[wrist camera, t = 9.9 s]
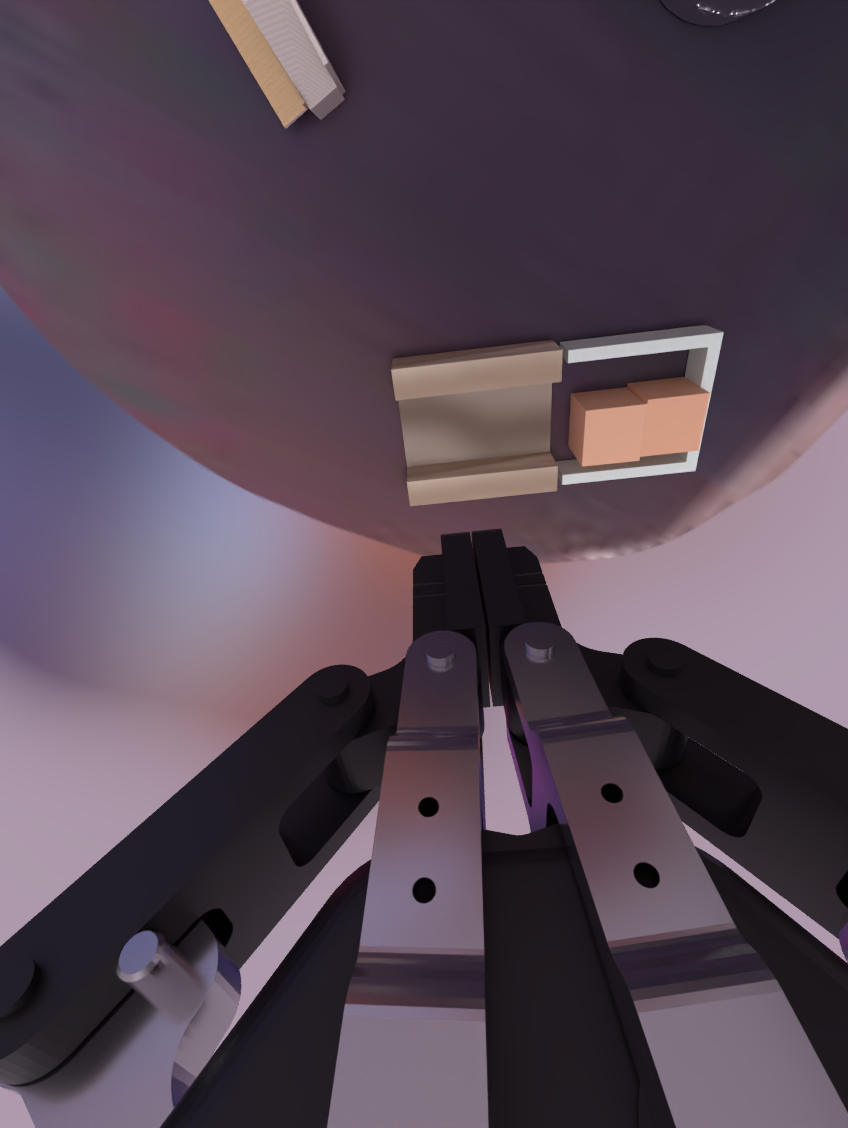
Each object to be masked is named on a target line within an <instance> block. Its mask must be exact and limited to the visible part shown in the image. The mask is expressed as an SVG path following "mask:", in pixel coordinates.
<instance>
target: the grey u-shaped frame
mask: <svg viewBox="0 0 848 1128" xmlns="http://www.w3.org/2000/svg"><path fill="white" fill-rule="evenodd" d="M723 333H724V332H722V331H719V330H717V329H714V328H712V327H709V326H707V325H700V326H692V327H683V328H675V329H666V330H658V331H649V332H641V333H632V334H624V335H615V336H607V337H598V338H590V339H581V340H573V341H564V342H560V345H559V347H560V348H561V349H562V350H563V356H562V358H563V359H564V360H565V361H566V362H567V363H574V362H583V361H591V360H600V359H609V358H617V357H626V356H635V355H643V354H652V353H661V352H669V351H678V350H687V349H689V355H688V361H687V366H686V372H685V378H687V379H689V380H690V381H692V382H693V383H695V384H697V385H698V386H700V387H701V388H703V389H705V390H706V391H708V392H710V395H709V400H708V405H707V410H706V415H705V420H704V425H703V430H702V435H701V440H700V445H701V441H702V436H703V431H704V426H705V421H706V416H707V411H708V406H709V402H710V397H711V392H712V387H713V382H714V377H715V372H716V367H717V363H718V358H719V353H720V348H721V343H722V338H723ZM700 445H699V450H700ZM699 450H698V451H690V452H681V453H671V454H662V455H653V456H643V457H640V461H631V462H622V463H612V464H603V465H593V466H584V467H582V466H581V464H580V463H579V461H578V460H577V459H573V460H564V461H555V462H556V464H557V465H558V478H559V480H560V482H561V484H562V485H565V484H575V483H584V482H594V481H604V480H613V479H623V478H632V477H642V476H652V475H661V474H671V473H680V472H690V471H695V470H696V465H697V460H698V455H699Z"/></svg>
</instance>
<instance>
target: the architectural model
mask: <svg viewBox="0 0 848 1128" xmlns="http://www.w3.org/2000/svg"><path fill="white" fill-rule="evenodd" d="M209 2H210V3H211V5H212V7H213V8H214V10H215V12H216V13H217V15H218V17H219V18H220V20H221V22H222V23H223V25H224V27H225V28H226V30H227V32H228V33H229V35H230V37H231V38H232V40H233V42H234V44H235V45H236V47H237V49H238V50H239V52H240V54H241V55H242V57H243V59H244V60H245V62H246V64H247V65H248V67H249V69H250V70H251V72H252V74H253V75H254V77H255V79H256V80H257V82H258V84H259V85H260V87H261V89H262V90H263V92H264V94H265V95H266V97H267V99H268V100H269V102H270V104H271V105H272V107H273V109H274V110H275V112H276V114H277V115H278V117H279V119H280V120H281V122H282V124H283V126H284V127H285V128H287V127H289V126H290V125H291V124H292V123H293V122H294V121H295V120H296V119H298V118H299V117H300V116H301V115H302V114H303V113H304V112H305V111H307V110H308V109H310V110H311V111H312V112H313V113H314V114H315V115H316V116H317V117H318V118H319V119H320V120H322V119H323V118H324V117H325V116H326V115H327V114H329V113H330V112H331V111H332V110H333V109H334V108H335V107H337V106H338V105H339V104H340V103H341V102H342V101H343V100H345V99H344V97H343V94H344V93H345V90H344V88H343V86H342V84H341V82H340V80H339V78H338V76H337V75H336V73H335V71H334V69H333V67H332V65H331V63H330V61H329V60H328V58H327V56H326V54H325V52H324V50H323V48H322V46H321V44H320V43H319V41H318V39H317V37H316V35H315V33H314V31H313V29H312V27H311V26H310V24H309V22H308V20H307V18H306V16H305V14H304V12H303V10H302V9H301V7H300V5H299V3H298V1H297V0H209Z"/></svg>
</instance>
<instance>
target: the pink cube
mask: <svg viewBox="0 0 848 1128" xmlns="http://www.w3.org/2000/svg"><path fill="white" fill-rule="evenodd" d="M646 409H647V403H645V402H644V401H643V400H642V399H641V398H639V397H638V396H637V395H636V394H635V393H633V392H632V391H631V390H630V389H629V388H627V387H624V388H615V389H606V390H597V391H588V392H579V393H571V404H570V423H569V442H568V446H569V447H570V449H571V451H572V452H573V454H574V455H575V457H576V458H577V460H578V461H579V463H580V464H581V466H582V467H584V466H593V465H603V464H612V463H622V462H631V461H640V453H641V446H642V438H643V431H644V424H645V416H646Z"/></svg>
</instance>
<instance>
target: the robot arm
mask: <svg viewBox="0 0 848 1128" xmlns="http://www.w3.org/2000/svg"><path fill="white" fill-rule="evenodd" d="M661 1H662V2H663V4H664V5H665V6H666V8H667V9H668V10H670V11H671V12H672V13H674V14H675V15H677V16H678V17H679V18H681V19H682V20H684V21H687V22H690V23H693V24H696V25H699V26H719V25H722V24H726V23H729V22H733V21H736V20H739V19H741V18H743V17H745V16H746V15H748V14H750V13H753V12H755V11H757V10H759V9H761V8H763V7H765V6H767V5H769V4H771V3H772V2H774V1H776V0H661ZM441 545H442V555H432V556H422V557H421V558H420V560H419V561H418V563H417V564H416V566H415V567H414V569H413V643H412V644H411V645H410V647H409V649H408V650H407V654H406V657H405V658H404V659H403V660H402V661H401V662H399V663H398V664H397V665H395V666H393V667H391V668H390V669H387V670H385V671H382V672H379V673H376V674H374V675H371V676H367V675H366V674H365V673H364V672H363V671H362V670H361V669H359V668H357V667H354V666H350V665H334V666H330V667H326V668H323V669H321V670H319V671H317V672H316V673H314V674H313V675H311V676H310V677H309V678H308V679H306V680H305V681H304V682H303V683H302V684H301V685H300V686H298V687H297V688H296V689H295V690H294V691H293V692H292V693H290V694H289V695H288V696H287V697H286V698H285V699H284V700H282V701H281V702H280V703H279V704H278V705H277V706H276V707H275V708H273V709H272V710H271V711H270V712H269V713H267V714H266V715H265V716H264V717H263V718H262V719H261V720H259V721H258V722H257V723H256V724H255V725H254V726H253V727H251V728H250V729H249V730H248V731H247V732H246V733H245V734H243V735H242V736H241V737H240V738H239V739H238V740H236V741H235V742H234V743H233V744H232V745H231V746H230V747H228V748H227V749H226V750H225V751H224V752H223V753H222V754H221V755H219V756H218V757H217V758H216V759H215V760H214V761H212V762H211V763H210V764H209V765H208V766H207V767H206V768H204V769H203V770H202V771H201V772H200V773H199V774H198V775H197V776H195V777H194V778H193V779H192V780H191V781H189V782H188V783H187V784H186V785H185V786H184V787H183V788H181V789H180V790H179V791H178V792H177V793H176V794H175V795H173V796H172V797H171V798H170V799H169V800H168V801H167V802H165V803H164V804H163V805H162V806H161V807H160V808H159V809H157V810H156V811H155V812H154V813H153V814H152V815H151V816H149V817H148V818H147V819H146V820H145V821H144V822H143V823H142V824H140V825H139V826H138V827H137V828H136V829H134V830H133V831H132V832H131V833H130V834H129V835H128V836H127V837H125V838H124V839H123V840H122V841H121V842H120V843H118V844H117V845H116V846H115V847H114V848H113V849H112V850H110V851H109V852H108V853H107V854H106V855H105V856H104V857H102V858H101V859H100V860H99V861H98V862H97V863H96V864H94V865H93V866H92V867H91V868H90V869H89V870H88V871H86V872H85V873H84V874H83V875H82V876H81V877H80V878H79V879H77V880H76V881H75V882H74V883H73V884H72V885H70V886H69V887H68V888H67V889H66V890H65V891H63V892H62V893H61V894H60V895H59V896H58V897H57V898H55V899H54V901H52V902H51V903H50V904H49V905H47V906H46V907H45V908H44V909H43V910H42V911H41V912H39V913H38V914H37V915H36V916H35V917H34V918H33V919H31V921H29V922H28V923H27V924H26V925H25V926H23V927H22V928H21V929H20V930H19V931H18V932H17V933H15V934H14V935H13V936H12V937H11V938H10V939H8V940H7V941H6V942H5V943H4V944H3V945H2V946H1V947H0V1086H1V1087H3V1088H4V1089H7V1090H9V1091H12V1092H14V1093H16V1094H19V1095H21V1096H22V1098H23V1100H24V1103H25V1105H26V1107H27V1109H28V1112H29V1114H30V1116H31V1118H32V1121H33V1123H34V1125H35V1128H848V729H847V728H845V727H843V726H841V725H839V724H837V723H835V722H833V721H831V720H829V719H827V718H825V717H823V716H821V715H819V714H817V713H815V712H814V711H812V710H810V709H808V708H806V707H804V706H802V705H800V704H798V703H796V702H794V701H792V700H790V699H788V698H786V697H784V696H782V695H780V694H778V693H776V692H775V691H772V690H770V689H768V688H767V687H764V686H762V685H761V684H759V683H757V682H755V681H753V680H751V679H749V678H747V677H745V676H743V675H741V674H739V673H737V672H735V671H733V670H732V669H730V668H728V667H726V666H724V665H722V664H720V663H718V662H716V661H714V660H712V659H710V658H708V657H706V656H704V655H702V654H700V653H698V652H696V651H694V650H692V649H690V648H688V647H687V646H685V645H682V644H680V643H678V642H675V641H672V640H668V639H663V638H645V639H641V640H638V641H635V642H634V643H632V644H630V645H629V646H628V647H627V648H626V649H625V651H624V653H623V655H622V654H615V653H609V652H602V651H597V650H593V649H589V648H586V647H584V646H582V645H580V644H578V643H576V641H575V640H574V638H573V636H572V635H571V634H570V633H569V632H568V631H566V630H565V629H563V628H562V627H561V624H560V621H559V619H558V615H557V613H556V610H555V607H554V604H553V601H552V598H551V595H550V592H549V590H548V587H547V585H546V581H545V578H544V575H543V574H542V570H541V567H540V564H539V561H538V558H537V557H536V556H535V555H534V554H533V553H532V552H531V551H529V550H528V549H527V548H526V547H525V546H521V547H511V548H506V544H505V541H504V537H503V533H502V530H501V529H491V530H481V531H472V543H471V537H470V532H462V533H452V534H443V535H441ZM488 677H489V678H488ZM489 683H490V690H491V696H492V702H493V706H504V710H505V715H506V728H507V740H508V743H509V747H510V751H511V755H512V759H513V762H514V766H515V770H516V773H517V777H518V781H519V785H520V789H521V792H522V796H523V800H524V804H525V807H526V811H527V815H528V820H529V824H530V831H531V833H529V834H525V835H511V834H505V833H500V832H494V831H489V830H486V819H485V795H484V768H483V744H482V743H483V742H482V735H483V732H484V711H483V708H484V707H490V697H489ZM689 737H690V738H689ZM692 739H693V740H692ZM695 741H696V742H695ZM700 744H701V745H700ZM703 746H704V747H703ZM706 748H707V749H706ZM708 749H709V750H708ZM711 751H712V752H711ZM714 753H715V754H714ZM717 755H718V756H717ZM719 756H720V757H719ZM722 758H723V759H722ZM725 760H726V761H725ZM727 761H728V762H727ZM730 763H731V764H730ZM733 765H734V766H733ZM736 767H737V768H736ZM738 768H739V769H740V770H739V769H738ZM741 770H742V771H741ZM744 772H745V773H744ZM378 801H379V808H378V815H377V822H376V830H375V837H374V844H373V852H372V859H371V860H369V861H368V862H366V863H365V864H363V865H362V866H360V867H359V868H358V869H357V870H356V871H354V872H353V873H352V874H351V875H350V876H348V877H347V878H346V879H345V880H344V881H343V883H342V884H341V885H340V886H339V887H338V888H337V889H336V890H335V891H334V893H333V894H332V895H331V896H330V898H329V899H328V900H327V901H326V903H325V904H324V906H323V907H322V908H321V910H320V911H319V912H318V914H317V915H316V916H315V918H314V919H313V920H312V922H311V923H310V925H309V926H308V927H307V929H306V930H305V931H304V933H303V934H302V936H301V937H300V938H299V940H298V941H297V942H296V943H295V945H294V946H293V948H292V949H291V950H290V952H289V953H288V954H287V956H286V957H285V959H284V960H283V961H282V963H281V964H280V965H279V967H278V968H277V969H276V971H275V972H274V973H273V975H272V976H271V977H270V979H269V980H268V981H267V983H266V984H265V986H264V987H263V988H262V990H261V991H260V992H259V994H258V995H257V996H256V998H255V999H254V1001H253V1002H252V1003H251V1004H250V1006H249V1007H248V1009H247V1010H246V1011H245V1013H244V1014H243V1015H242V1017H241V1018H240V1019H239V1021H238V1022H237V1024H236V1025H235V1026H234V1028H233V1029H232V1030H231V1032H230V1033H229V1034H228V1036H227V1037H226V1038H225V1040H224V1041H223V1042H222V1044H221V1045H220V1046H219V1048H218V1049H217V1050H216V1052H215V1053H214V1051H215V1049H216V1047H217V1046H218V1044H219V1042H220V1041H221V1039H222V1038H223V1036H224V1034H225V1033H226V1031H227V1030H228V1028H229V1026H230V1024H231V1022H232V1020H233V1018H234V1016H235V1013H236V1011H237V1008H238V1005H239V1000H240V994H241V975H240V970H239V969H240V968H241V967H242V965H243V964H244V963H245V962H246V961H247V959H248V958H249V957H250V956H251V955H252V953H253V952H254V951H255V950H256V949H257V947H258V946H259V945H260V944H261V942H262V941H263V940H264V939H265V938H266V937H267V935H268V934H269V933H270V932H271V930H272V929H273V928H274V927H275V926H276V924H277V923H278V922H279V921H280V920H281V918H282V917H283V916H284V915H285V914H286V912H287V911H288V910H289V909H290V908H291V906H292V905H293V904H294V903H295V901H296V900H297V899H298V898H299V897H300V895H301V894H302V893H303V892H304V890H305V889H306V888H307V887H308V886H309V885H310V883H311V882H312V881H313V880H314V878H315V877H316V876H317V875H318V874H319V872H320V871H321V870H322V869H323V868H324V866H325V865H326V864H327V863H328V862H329V860H330V859H331V858H332V857H333V855H334V854H335V853H336V852H337V851H338V850H339V848H340V847H341V846H342V845H343V843H344V842H345V841H346V840H347V839H348V837H349V836H350V835H351V834H352V833H353V831H354V830H355V829H356V828H357V827H358V825H359V824H360V823H361V822H362V820H363V819H364V818H365V817H366V816H367V814H368V813H369V812H370V811H371V810H372V808H373V807H374V806H375V805H376V804H377V802H378ZM682 822H684V823H685V824H686V825H688V826H689V827H691V828H692V829H693V830H694V831H696V832H697V833H698V834H700V835H701V836H702V837H704V838H705V839H706V840H708V841H709V842H710V843H712V844H713V845H714V846H716V847H717V848H718V849H720V850H721V851H722V852H724V853H725V854H726V855H728V856H729V857H730V858H732V859H733V860H734V861H736V862H737V863H738V864H740V865H741V866H743V867H744V868H745V869H746V870H748V871H749V872H750V873H752V874H753V875H754V876H756V877H757V878H758V879H760V880H761V881H762V882H764V883H765V884H766V885H768V886H769V887H770V888H772V889H773V890H774V891H776V892H777V893H778V894H779V895H781V896H782V897H783V898H785V899H787V900H788V901H789V902H790V903H791V904H793V905H794V906H795V907H797V908H798V909H799V910H801V911H802V912H804V913H805V914H806V915H807V916H809V917H810V918H811V919H813V920H814V921H815V922H817V923H818V924H819V925H821V926H822V927H823V928H825V929H826V930H827V931H829V932H830V933H831V934H833V935H834V936H835V937H837V938H838V939H839V941H840V945H841V949H842V952H843V954H844V956H845V959H846V961H847V963H846V962H845V961H844V960H843V959H841V958H840V957H839V956H837V955H836V954H835V953H834V952H833V951H831V950H830V949H829V948H828V947H826V946H825V945H824V944H823V943H822V942H820V941H819V940H818V939H817V938H815V937H814V936H813V935H811V934H810V933H809V932H808V931H807V930H805V929H804V928H803V927H802V926H800V925H799V924H798V923H797V922H795V921H794V920H793V919H792V918H790V917H789V916H788V915H787V914H786V913H784V912H783V911H782V910H781V909H779V908H778V907H777V906H776V905H774V904H773V903H772V902H771V901H769V900H768V899H767V898H766V897H765V896H763V895H762V894H761V893H760V892H758V891H757V890H756V889H755V888H753V887H752V886H751V885H749V884H748V883H747V882H746V881H745V880H743V879H742V878H741V877H740V876H738V875H737V874H736V873H735V872H734V871H732V870H731V869H730V868H728V867H727V866H726V865H724V864H723V863H722V862H720V861H719V860H717V859H715V858H714V857H713V856H711V855H709V854H708V853H707V852H705V851H703V850H701V849H699V848H697V847H695V846H694V845H693V842H692V841H691V839H690V837H689V835H688V833H687V831H686V829H685V827H684V825H683V823H682ZM213 1054H214V1055H213Z"/></svg>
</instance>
